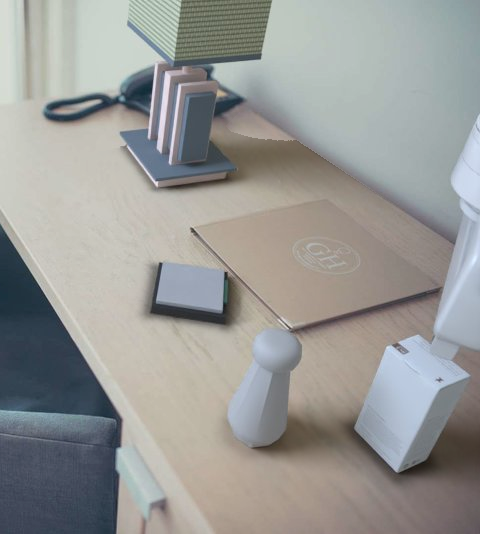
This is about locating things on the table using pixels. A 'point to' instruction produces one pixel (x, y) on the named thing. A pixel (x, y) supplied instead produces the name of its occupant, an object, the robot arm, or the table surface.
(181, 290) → the scale
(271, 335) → the salt shaker
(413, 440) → the cosmetic box
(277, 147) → the table surface
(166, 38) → the desk lamp
